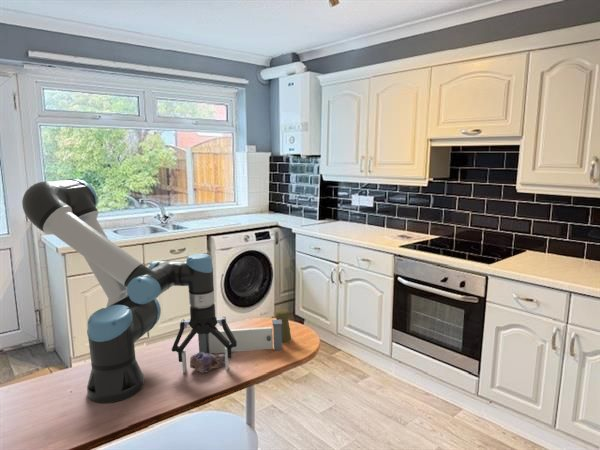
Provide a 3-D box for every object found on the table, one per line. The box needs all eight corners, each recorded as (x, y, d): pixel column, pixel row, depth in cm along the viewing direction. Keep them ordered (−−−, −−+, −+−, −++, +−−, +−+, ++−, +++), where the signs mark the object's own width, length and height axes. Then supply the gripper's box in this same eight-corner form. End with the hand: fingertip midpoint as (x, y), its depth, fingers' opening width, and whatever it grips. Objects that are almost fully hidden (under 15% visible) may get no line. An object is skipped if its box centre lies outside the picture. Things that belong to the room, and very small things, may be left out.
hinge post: (198, 356, 141) (196, 329, 140) (199, 351, 145) (197, 324, 143) (208, 355, 142) (206, 328, 140) (208, 351, 145) (207, 324, 144)
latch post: (273, 351, 144) (272, 324, 143) (272, 346, 148) (272, 320, 146) (282, 350, 145) (282, 323, 143) (282, 345, 148) (281, 319, 147)
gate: (206, 355, 142) (205, 333, 140) (207, 352, 144) (206, 330, 143) (273, 350, 144) (272, 329, 143) (272, 347, 147) (271, 326, 145)
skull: (222, 359, 140) (221, 341, 139) (231, 368, 133) (231, 350, 132) (187, 369, 133) (185, 351, 132) (195, 380, 127) (194, 361, 126)
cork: (273, 336, 156) (273, 308, 154) (289, 335, 157) (289, 307, 155) (275, 343, 150) (275, 314, 148) (292, 342, 151) (291, 313, 149)
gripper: (158, 311, 124) (163, 378, 128) (242, 306, 127) (245, 371, 131) (163, 302, 131) (168, 366, 135) (242, 297, 134) (245, 360, 138)
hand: (206, 369), depth 133 cm, fingers open, 12 cm apart
